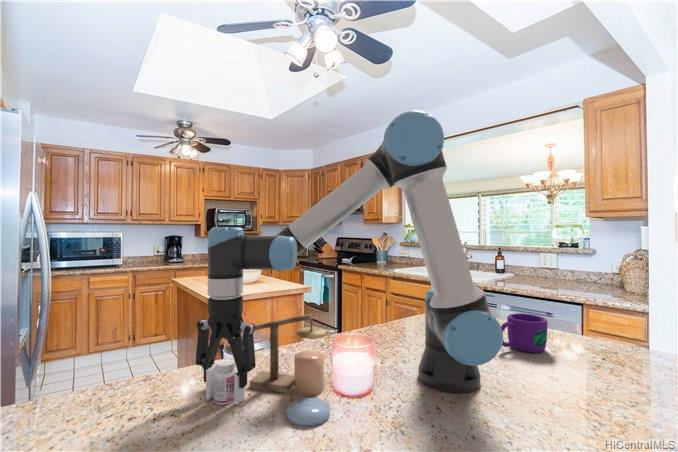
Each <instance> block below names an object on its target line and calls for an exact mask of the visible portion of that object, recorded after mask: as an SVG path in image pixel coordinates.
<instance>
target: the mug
mask: <svg viewBox="0 0 678 452" xmlns="http://www.w3.org/2000/svg"><path fill="white" fill-rule="evenodd" d="M506 319H507V320H506V322H504V323H502V324H500V326H501V328H502V331H503V332H504V331H505V329H507V339H508V340H507V342H505V341H504V340H503V344H502V347H505V348H509V347H510V348H511V346H512V348H513V349H515V350H516V349H517V351H519V350H520V351H519V352H523V351H525V352H524V353H528V352H539V353H542V352H543V351H546V350H545V349H546V347H547V341H548V320H547V318H545V317H542V316H540V315H536V314H530V313H517V312H516V313H511V314H508V315H507V318H506Z"/></svg>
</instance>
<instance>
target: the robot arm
mask: <svg viewBox="0 0 678 452" xmlns="http://www.w3.org/2000/svg"><path fill="white" fill-rule="evenodd" d="M383 135H384V136H383V140H382V143H380V145H379V146H378V148H377V149H376V150H375V151H374V152H373V153H372V154H371V155H370V156H369V157H367V158H366V159H365V161H364V162H365V163H364V166H362V167H361V168H360V169H359V170H358V171H355V173H353V174H352V175H350V177H348V178H347V179H345V181H343V182H342V183H341V184H340V185H338V186H337V187H336V188H334V189H333V190H332V191H331V192H330V193H328V194H327V195H326V196H324V197H323V198H322V199H320V200H319V201H318V202H317V203H316V204H314V205H313V206H311V207H310V208H309V209H308V210H306V211H305V212H304V213H303V214H301V215H300V216H299V217H298V218H296V219H295V220H294V221H292V222H291V223H290V224H288V225H287V226H286V227H284V228H283V229H282V230H281V231H279V232H277V234H276V235H265V236H262V235H260V236H259V235H257V236H256V235H255V236H253V235H252V236H250V235H245V234H244V229H243V228H242V227H232V226H231V227H229V226H228V227H225V226H222V227H221V226H217V227H212V228H210V230H209V231H208V238H207V239H208V241H207V247H206V249H207V295H208V296H209V298H208V299H207V314H208V318H207V319H206V318H205V319H203V320H199V321H197V322H196V329H197V342H196V343H197V344H196V353H195V365H196V366H201V367H202V369H203V382H204V383H205V400H209V401H210V400H211V399H212V398H214V373H215V372H216V362H215V360H216V357H217V355H218V350H219V347H220V344H221V342H222V339H224V340H226V341H227V344H230V346H231V350H232V352H231V353H232V356H233V360H234V361H235V367H236V373H235V374H234V401H233V403H234V405H236V406H237V405H239V404H240V403H241V402H242V401H244V400H245V387H247V385H248V373H250V372H251V371H252V370H254V369H255V368H256V367H257V363H256V352H255V351H256V350H255V342H254V341H255V339H254V333H255V331H254V329H255V325H256V324H254V323H250V324H249V323H246V322H245V320H244V319H243V311H244V297H243V295H242V294H243V292H244V270H245V271H246V270H247V271H249V270H260V271H261V270H263V271H278V272H280V271H281V272H282V271H290V270H294V268H295V267H296V265H297V260H298V256H299V255H300V254H301V253H303V252H304V251H305V250H306V249H307V248H309V247H310V246H312V245H313V243H315V242H317V241H318V240H319V239H320V238H322V237H323V236H324V235H326V234H327V233H328V232H329V231H330V230H332V229H333V228H335V226H337V225H338V224H340V223H341V222H342V221H343V220H345V219H346V218H347V217H349V216H350V215H351V214H352V213H354V212H355V211H356V210H357V209H359V208H360V207H361V206H363V205H364V204H365V203H367V202H368V201H370V200H371V199H372V198H373V197H374V196H376V195H377V194H378V193H379V192H381V191H383V190H390V189H391V188H392V187H394V186H396V187H398V188H399V189H401V190H402V191H403V195H404V197H405V201H406V203H407V207H408V210H409V213H410V217H411V221H412V225H413V228H414V230H415V234H416V237H417V240H418V241H417V242H418V244H419V247H420V252H421V255H422V258H423V262H424V265H425V268H426V272H427V275H428V278H429V282H430V286H431V288H430V289H427V291H426V293H425V299H424V303H425V304H424V306H425V307H424V308H425V309H424V310H425V312H424V313H425V315H424V317H425V320H424V322H425V324H424V325H425V327H424V335H425V338H424V339H425V340H424V341H425V342H424V346H425V347H424V349H423V353H422V355H421V358H420V362H419V364H418V368H417V376H418V379H419V381H420V382H421V383H422V384H424V385H425V386H427V387H430V388H432V389H435V390H438V391H441V392H445V393H455V394H457V393H459V394H461V393H471V392H473V391H476V390H477V389H478V388H480V386H481V372H480V370H479V368H478V366H482V365H485V364H487V363H490V361H492V360H493V359H494V358H496V356H497V355H498V353H499V352H500V351H501V349H502V347H503V346H502V344H503V341H504V331H502V328H501V324H500V323H499V321H498V320H497V318H496V317H495V316H494V315H492V314H491V311H490V308H489V305H488V304H489V303H488V301H487V298H486V294H485V292H484V289H481V288H479V287H478V286H476V285H475V284H474V283H475V282H474V279H473V277H472V273H471V270H470V268H469V263H468V259H467V257H466V253H465V250H464V247H463V244H462V240H461V237H460V234H459V231H458V226H457V223H456V221H455V216H454V213H453V209H452V206H451V203H450V200H449V196H448V192H447V189H446V186H445V183H444V180H443V178H444V175H445V173H446V171H447V169H448V167H447V163H446V159H445V156H444V152H443V148H444V144H445V143H444V141H445V133H444V130H443V128H442V125H441V123H440V122H439V121H438V120H437V118H436V117H434V116H433V115H431V114H430V113H428V112H426V111H422V110H409V111H405V112H403V113H401V114H399V115H398V116H396V117H394V119H392V121H391V122H390V123H389V124H388V125H387V127H386V129H385V132H384V134H383ZM241 328H242V333H241V334H242V335H240V329H241ZM210 330H211V333H210ZM241 336H243V346H242V343H241ZM243 349H244V350H243Z"/></svg>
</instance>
